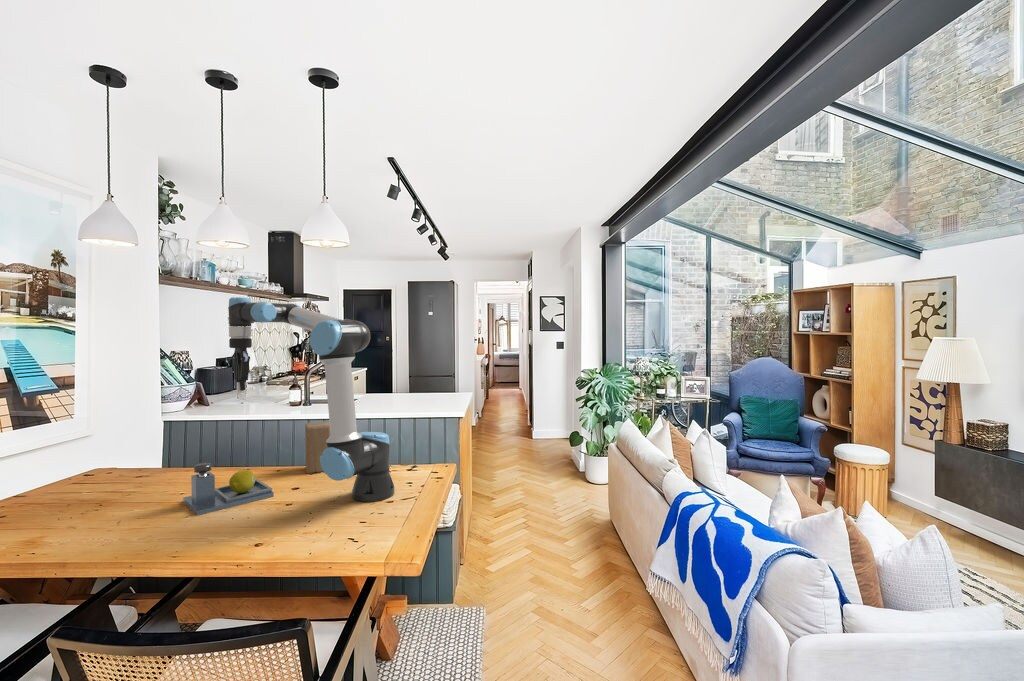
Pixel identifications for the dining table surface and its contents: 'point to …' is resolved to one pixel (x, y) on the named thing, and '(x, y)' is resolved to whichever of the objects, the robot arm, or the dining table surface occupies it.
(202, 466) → the ball
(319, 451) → the wooden block
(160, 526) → the dining table surface
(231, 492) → the base
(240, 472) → the lemon
